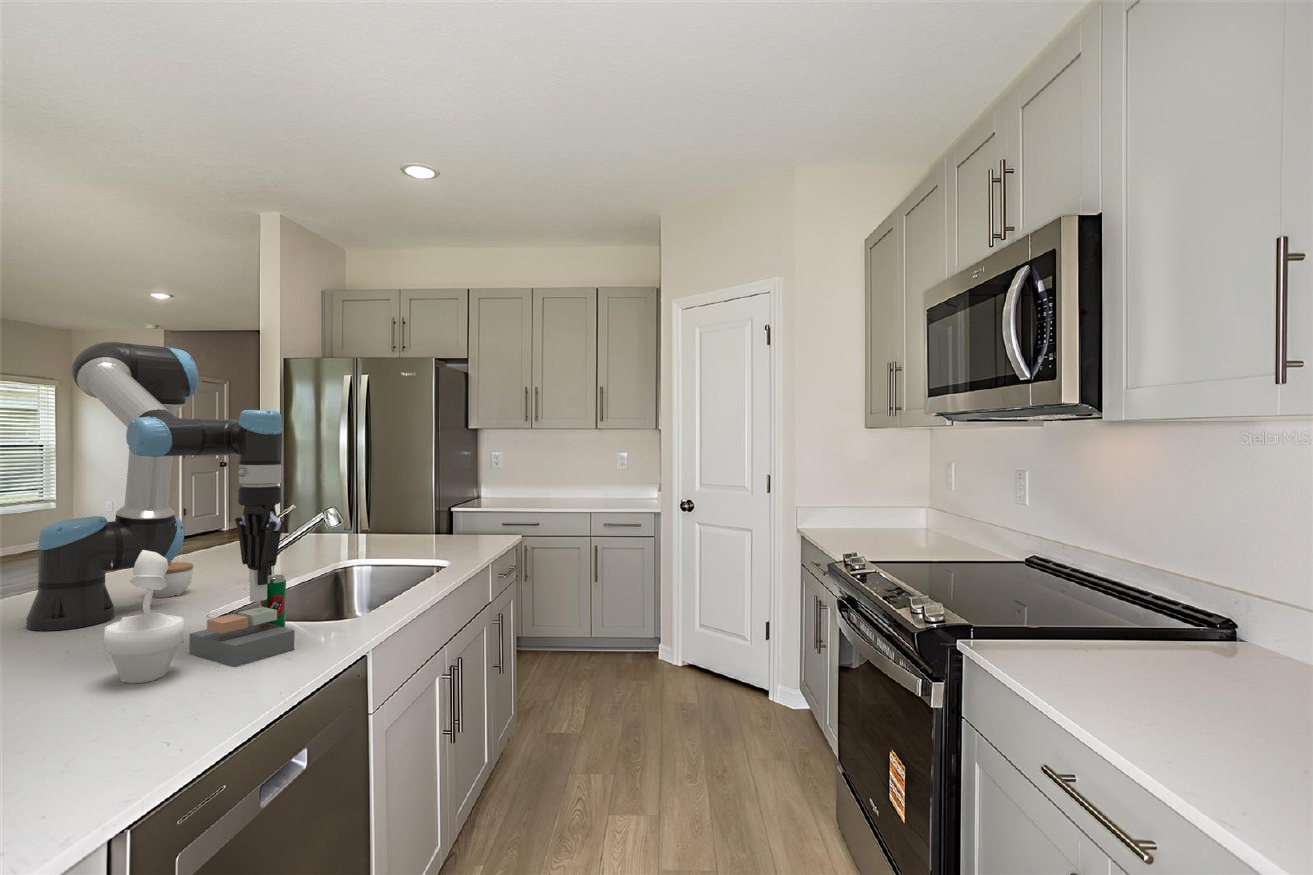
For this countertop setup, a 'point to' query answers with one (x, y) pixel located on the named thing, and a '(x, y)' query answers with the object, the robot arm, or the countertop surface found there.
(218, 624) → the rust key
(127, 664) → the white floating cup sculpture
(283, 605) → the soda can
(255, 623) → the sage key
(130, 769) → the countertop surface
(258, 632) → the button panel
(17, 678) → the countertop surface
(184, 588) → the lidded jar
